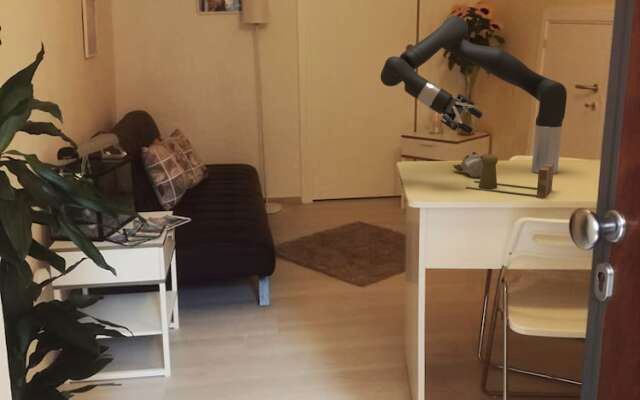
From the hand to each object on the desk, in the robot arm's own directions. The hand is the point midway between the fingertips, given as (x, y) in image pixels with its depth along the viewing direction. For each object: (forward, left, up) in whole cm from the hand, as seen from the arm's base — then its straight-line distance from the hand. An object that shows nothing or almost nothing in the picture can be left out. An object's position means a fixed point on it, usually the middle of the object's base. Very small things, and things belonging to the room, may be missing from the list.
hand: (476, 123), depth 234 cm
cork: (-2, +5, -22) cm, 22 cm away
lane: (-2, +11, -21) cm, 24 cm away
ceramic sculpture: (-19, -6, -22) cm, 29 cm away
